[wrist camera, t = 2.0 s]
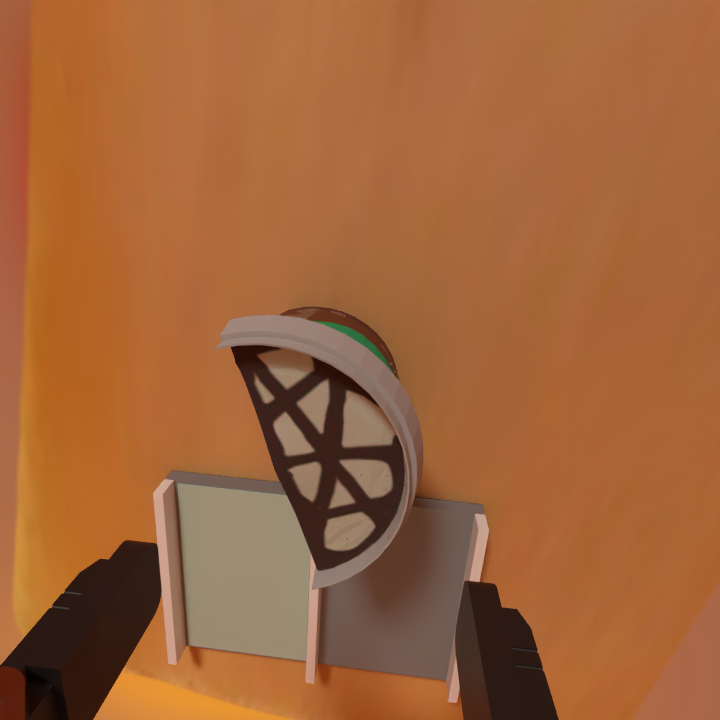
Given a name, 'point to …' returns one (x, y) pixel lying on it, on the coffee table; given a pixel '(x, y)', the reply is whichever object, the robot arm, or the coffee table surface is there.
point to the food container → (332, 430)
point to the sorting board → (310, 581)
